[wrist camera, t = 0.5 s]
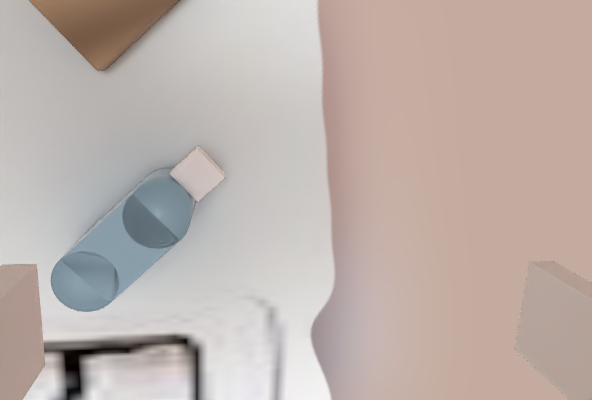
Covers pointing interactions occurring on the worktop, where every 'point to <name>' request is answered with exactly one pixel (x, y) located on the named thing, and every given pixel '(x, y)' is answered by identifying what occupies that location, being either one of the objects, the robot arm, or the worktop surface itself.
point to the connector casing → (133, 234)
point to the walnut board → (103, 24)
